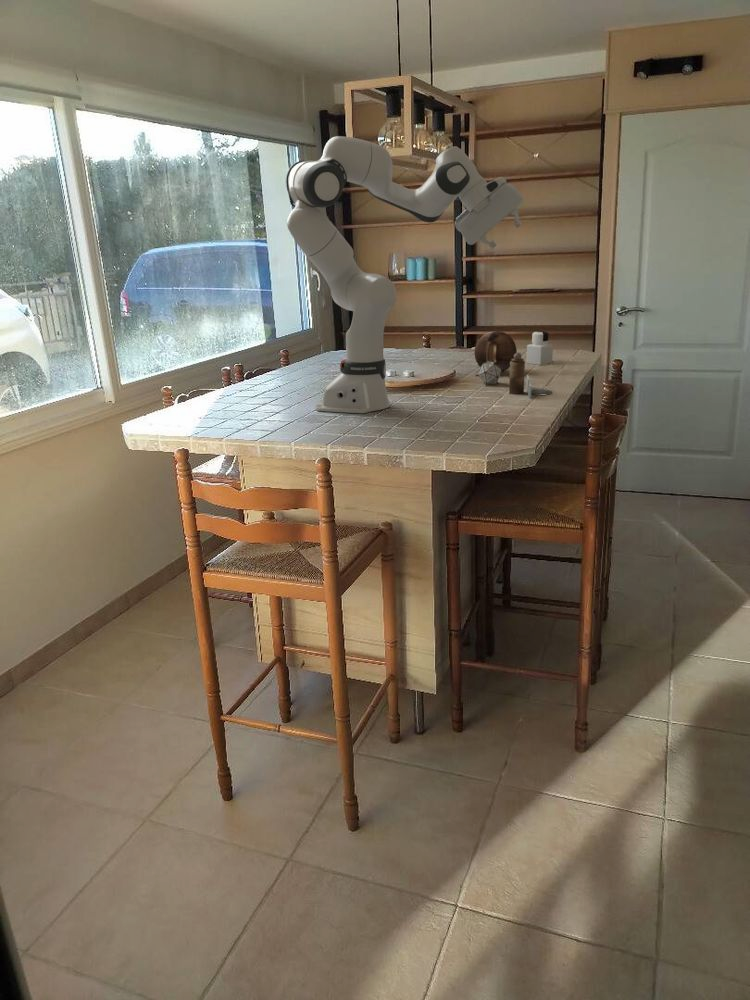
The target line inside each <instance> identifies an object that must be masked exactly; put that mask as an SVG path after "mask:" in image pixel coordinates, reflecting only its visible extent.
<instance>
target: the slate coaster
mask: <svg viewBox="0 0 750 1000" xmlns="http://www.w3.org/2000/svg"><path fill="white" fill-rule="evenodd" d="M551 392H552V390H550V389H542V388H541V389H537V388H536V389H531V393H533V394H549V393H551ZM533 394H532V395H533ZM551 394H552V393H551ZM549 395H550V394H549Z"/></svg>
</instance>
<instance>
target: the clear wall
mask: <svg viewBox="0 0 750 1000" xmlns="http://www.w3.org/2000/svg"><path fill="white" fill-rule="evenodd" d="M525 385H526V386H525V387H526V388H525V389H526V391H527V392H528V393H527V395H528V396H529V397H528V399H529V398H531V399H532V394H531V390H532V383H531V379H530V376H529V375H528V374H527V375H526V384H525Z"/></svg>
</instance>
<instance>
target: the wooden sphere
mask: <svg viewBox="0 0 750 1000" xmlns="http://www.w3.org/2000/svg"><path fill="white" fill-rule="evenodd" d="M515 353H518V352H517V346H516V343H515V341H514V339H513V338H512V337H511V336H510V335H509V334H508V333H506V332H504V331H500V330H494V331H493V330H492V331H489V332H486V333H485V334H483V335H482V336H481V337H480V338H479V339H478V340H477V342H476V344H475V347H474V357H475V358H474V359H475V362H476V363H477V366H479V368H481V365H482V363H481V361H482V362H483V363H487V362H492V360H494V363H495V362H496V365H497V366H498V367H499V368H500V369H504V371H502V372H501V373H503V372H506V371H508V369H509V370H510V361H511V359H513V358H514V354H515Z"/></svg>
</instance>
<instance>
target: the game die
mask: <svg viewBox="0 0 750 1000" xmlns="http://www.w3.org/2000/svg"><path fill="white" fill-rule="evenodd" d="M481 363H482V365H481V367H479V371H478V373H477V374H475V377H478V378H479V379H480V380H482V381H483V384H485V387H487V386H488V384H494V383H496V384H497V385H499V382H498V381H499V379H500V376H501V375H502V373H503V372H502V371H504V369H500V368H499V367H498V366H497V365H496V362H495V363H494V360H492V362H487V363H483V362H482V361H481ZM504 372H505V371H504Z"/></svg>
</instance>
